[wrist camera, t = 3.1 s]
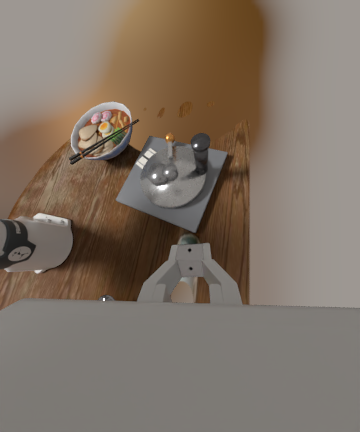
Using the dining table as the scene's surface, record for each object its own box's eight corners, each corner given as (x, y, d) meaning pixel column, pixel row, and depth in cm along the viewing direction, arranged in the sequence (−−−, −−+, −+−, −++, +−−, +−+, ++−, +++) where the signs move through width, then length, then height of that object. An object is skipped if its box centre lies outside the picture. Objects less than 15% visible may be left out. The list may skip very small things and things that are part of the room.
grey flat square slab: (119, 202, 43) (113, 199, 40) (151, 140, 47) (148, 133, 44) (195, 233, 35) (194, 232, 33) (226, 157, 39) (228, 150, 37)
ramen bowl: (133, 110, 52) (120, 86, 44) (154, 149, 45) (143, 129, 38) (81, 141, 54) (60, 123, 46) (94, 184, 47) (72, 171, 39)
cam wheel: (142, 212, 38) (115, 196, 26) (144, 146, 44) (122, 111, 32) (212, 204, 34) (215, 182, 23) (204, 134, 40) (203, 89, 29)
